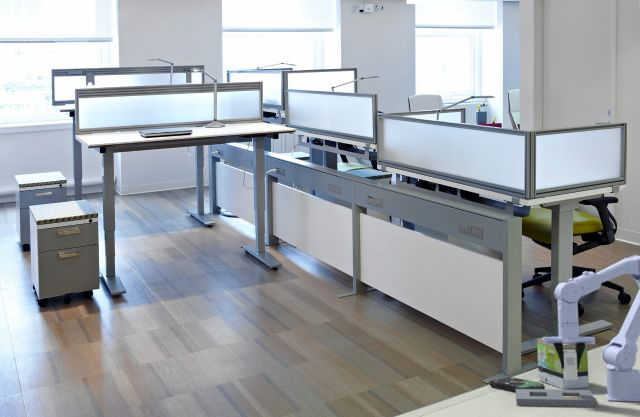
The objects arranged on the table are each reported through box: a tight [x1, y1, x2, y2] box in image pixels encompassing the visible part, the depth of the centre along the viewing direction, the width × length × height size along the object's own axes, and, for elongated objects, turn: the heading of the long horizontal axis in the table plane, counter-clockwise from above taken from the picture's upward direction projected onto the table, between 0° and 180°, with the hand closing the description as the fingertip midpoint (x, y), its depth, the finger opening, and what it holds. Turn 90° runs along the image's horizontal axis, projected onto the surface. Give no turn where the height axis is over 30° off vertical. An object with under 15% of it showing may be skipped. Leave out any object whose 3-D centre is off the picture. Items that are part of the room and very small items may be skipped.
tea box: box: [536, 337, 590, 390], centre depth 256 cm, size 15×10×15 cm
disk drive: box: [489, 376, 545, 394], centre depth 251 cm, size 10×3×15 cm
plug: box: [563, 350, 578, 380], centre depth 230 cm, size 4×5×8 cm
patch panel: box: [515, 389, 596, 408], centre depth 232 cm, size 22×14×2 cm, turn 77°
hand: (570, 368), depth 231 cm, fingers closed on plug, 4 cm apart
